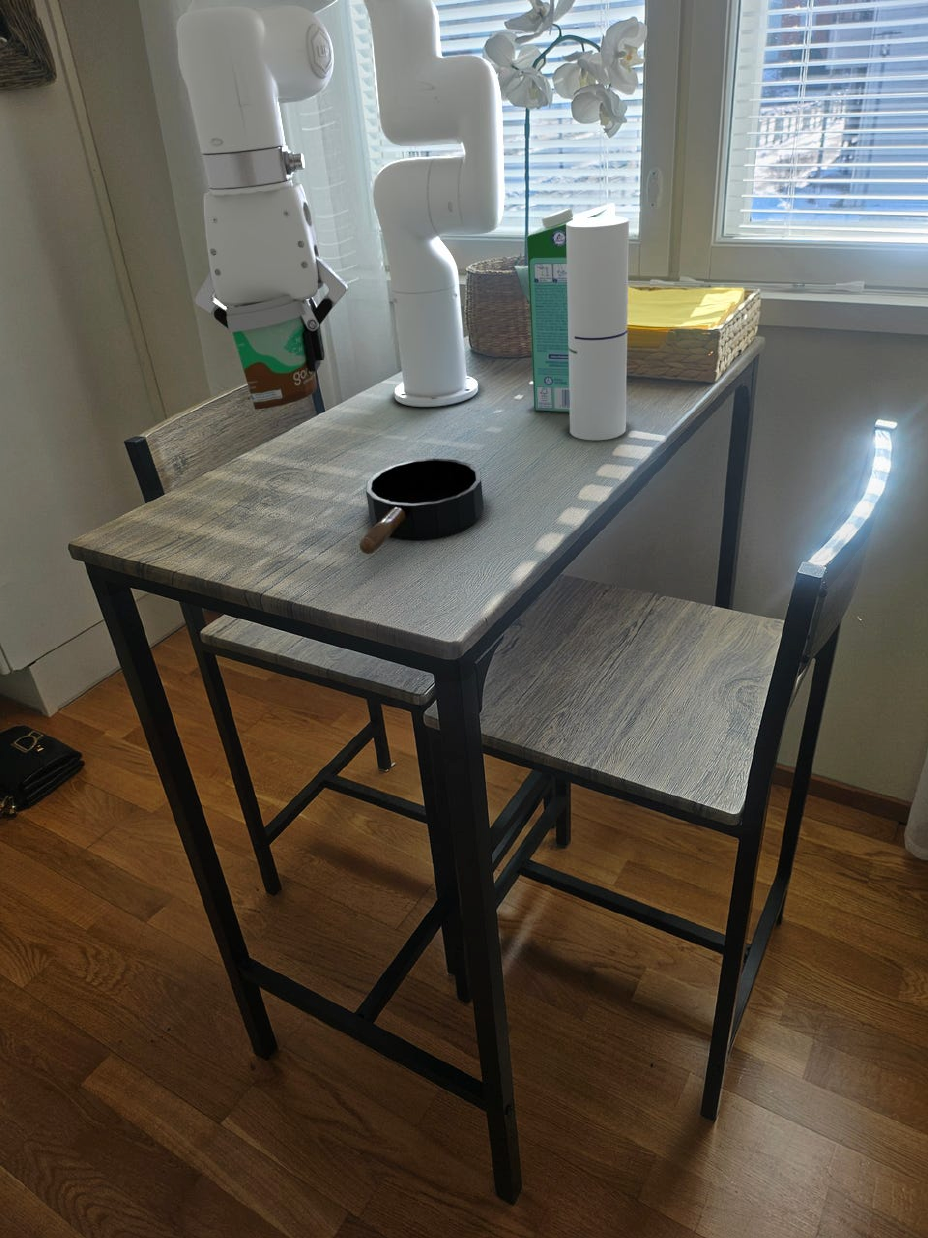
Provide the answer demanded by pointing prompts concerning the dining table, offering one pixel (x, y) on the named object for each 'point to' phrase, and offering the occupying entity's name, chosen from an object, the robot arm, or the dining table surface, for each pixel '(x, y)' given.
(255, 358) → the food container
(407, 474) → the pan
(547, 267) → the milk carton
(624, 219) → the cylindrical container
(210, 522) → the dining table surface
